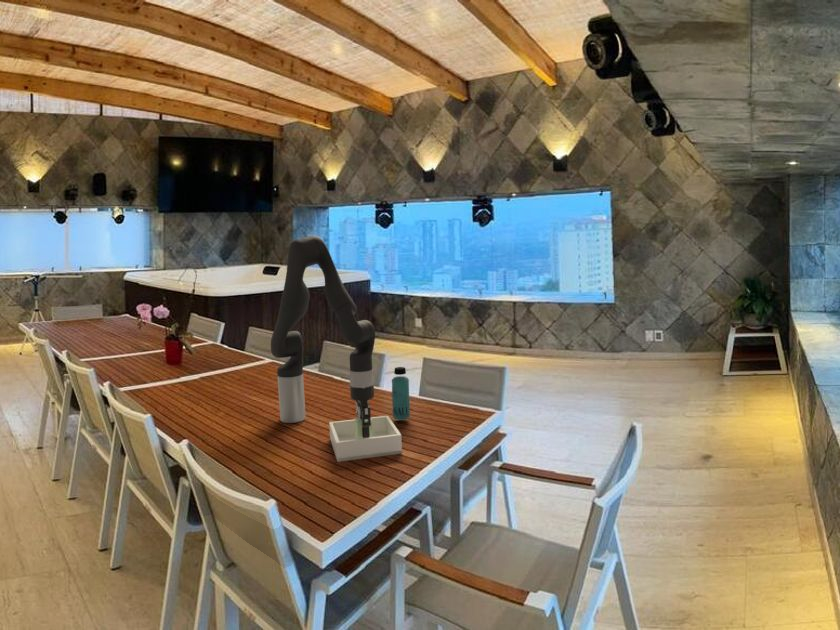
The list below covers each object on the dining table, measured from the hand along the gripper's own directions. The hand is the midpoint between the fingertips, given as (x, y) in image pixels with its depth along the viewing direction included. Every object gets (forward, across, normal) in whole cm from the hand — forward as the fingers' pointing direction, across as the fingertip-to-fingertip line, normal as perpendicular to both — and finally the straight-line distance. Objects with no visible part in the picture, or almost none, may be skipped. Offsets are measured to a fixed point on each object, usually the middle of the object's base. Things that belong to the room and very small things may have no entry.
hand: (364, 433), depth 181 cm
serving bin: (+4, 0, 0) cm, 4 cm away
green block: (+3, 0, 0) cm, 3 cm away
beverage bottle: (+4, -20, +17) cm, 27 cm away
